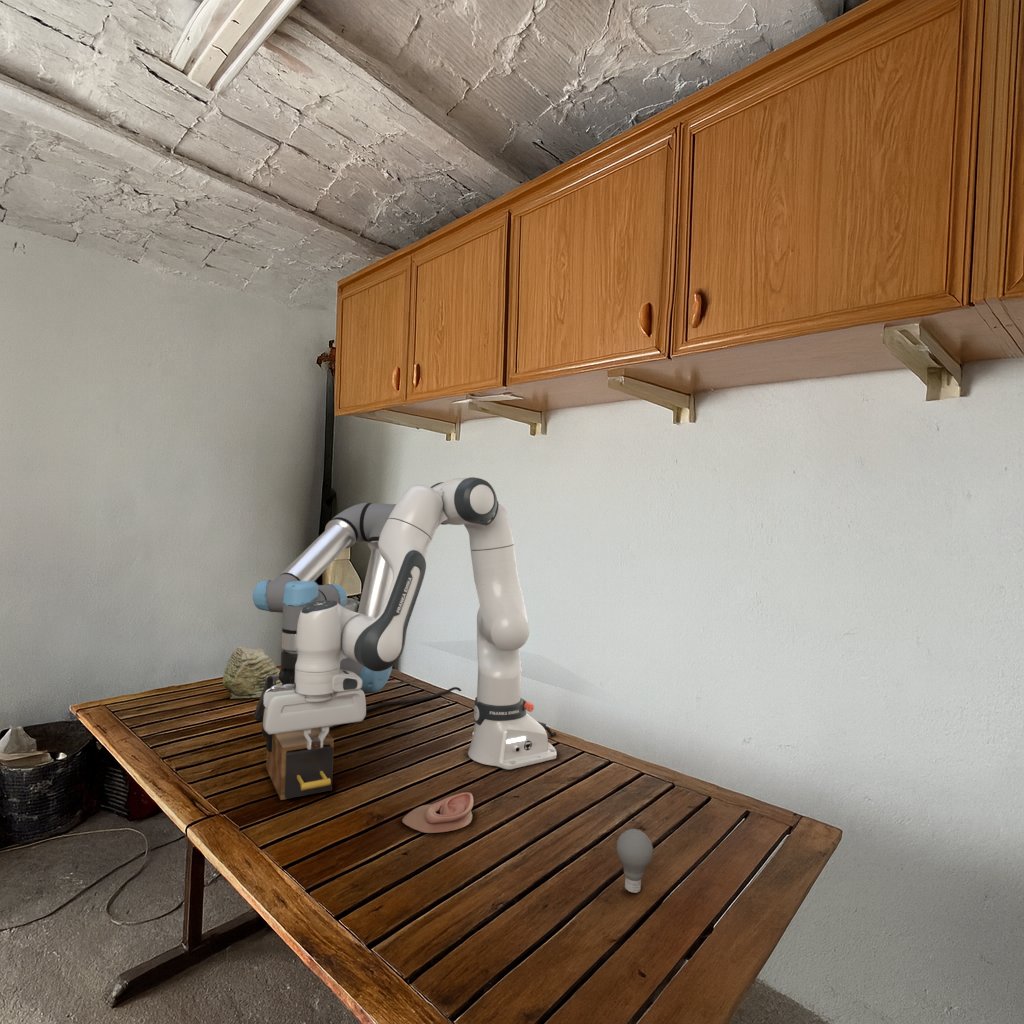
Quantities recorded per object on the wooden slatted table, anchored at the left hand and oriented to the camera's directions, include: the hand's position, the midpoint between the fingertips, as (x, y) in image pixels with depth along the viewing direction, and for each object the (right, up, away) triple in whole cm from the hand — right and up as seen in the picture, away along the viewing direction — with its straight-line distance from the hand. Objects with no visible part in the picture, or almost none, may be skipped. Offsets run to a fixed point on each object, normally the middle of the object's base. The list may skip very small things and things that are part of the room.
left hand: (295, 745), depth 145 cm
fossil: (-31, -4, +53) cm, 62 cm away
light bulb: (+70, -10, -39) cm, 81 cm away
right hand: (+9, +5, -15) cm, 18 cm away
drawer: (+5, -6, -8) cm, 11 cm away
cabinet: (+2, -6, -3) cm, 7 cm away
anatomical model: (+35, -8, -19) cm, 40 cm away
